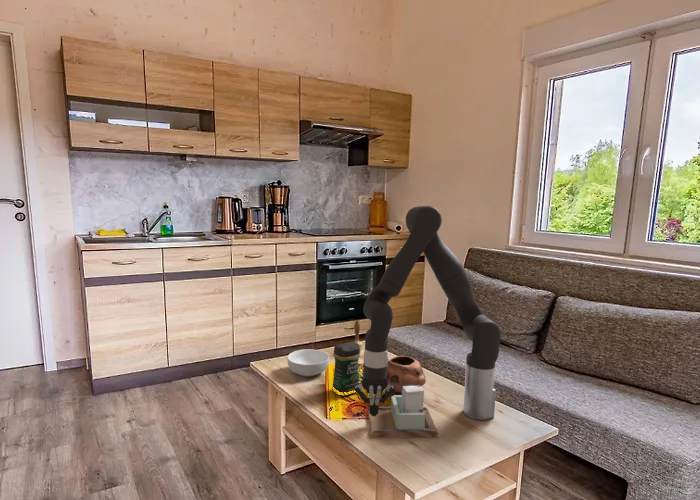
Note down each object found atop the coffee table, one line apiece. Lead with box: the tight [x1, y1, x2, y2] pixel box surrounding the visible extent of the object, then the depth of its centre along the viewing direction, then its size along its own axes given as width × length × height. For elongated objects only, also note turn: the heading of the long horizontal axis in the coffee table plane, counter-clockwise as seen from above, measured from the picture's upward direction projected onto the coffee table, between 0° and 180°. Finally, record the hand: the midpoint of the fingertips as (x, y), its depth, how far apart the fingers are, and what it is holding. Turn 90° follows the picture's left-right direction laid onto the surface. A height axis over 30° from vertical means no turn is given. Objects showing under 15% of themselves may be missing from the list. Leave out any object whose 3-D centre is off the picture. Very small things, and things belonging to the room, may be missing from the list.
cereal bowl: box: [287, 348, 330, 377], centre depth 175 cm, size 17×17×7 cm
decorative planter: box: [387, 355, 427, 396], centre depth 156 cm, size 20×12×14 cm, turn 51°
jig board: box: [367, 406, 439, 439], centre depth 137 cm, size 20×15×2 cm
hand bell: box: [353, 319, 365, 358], centre depth 196 cm, size 8×8×16 cm
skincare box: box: [401, 386, 425, 413], centre depth 136 cm, size 6×4×12 cm
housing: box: [390, 395, 426, 430], centre depth 136 cm, size 9×13×5 cm
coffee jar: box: [332, 340, 360, 393], centre depth 158 cm, size 10×8×19 cm
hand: (373, 414), depth 136 cm, fingers closed
